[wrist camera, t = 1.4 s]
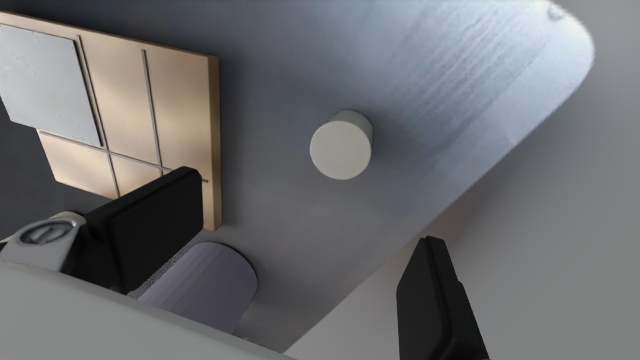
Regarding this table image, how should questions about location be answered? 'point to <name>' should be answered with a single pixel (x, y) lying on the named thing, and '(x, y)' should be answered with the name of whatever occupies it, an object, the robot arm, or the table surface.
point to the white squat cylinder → (343, 145)
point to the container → (206, 287)
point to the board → (113, 106)
